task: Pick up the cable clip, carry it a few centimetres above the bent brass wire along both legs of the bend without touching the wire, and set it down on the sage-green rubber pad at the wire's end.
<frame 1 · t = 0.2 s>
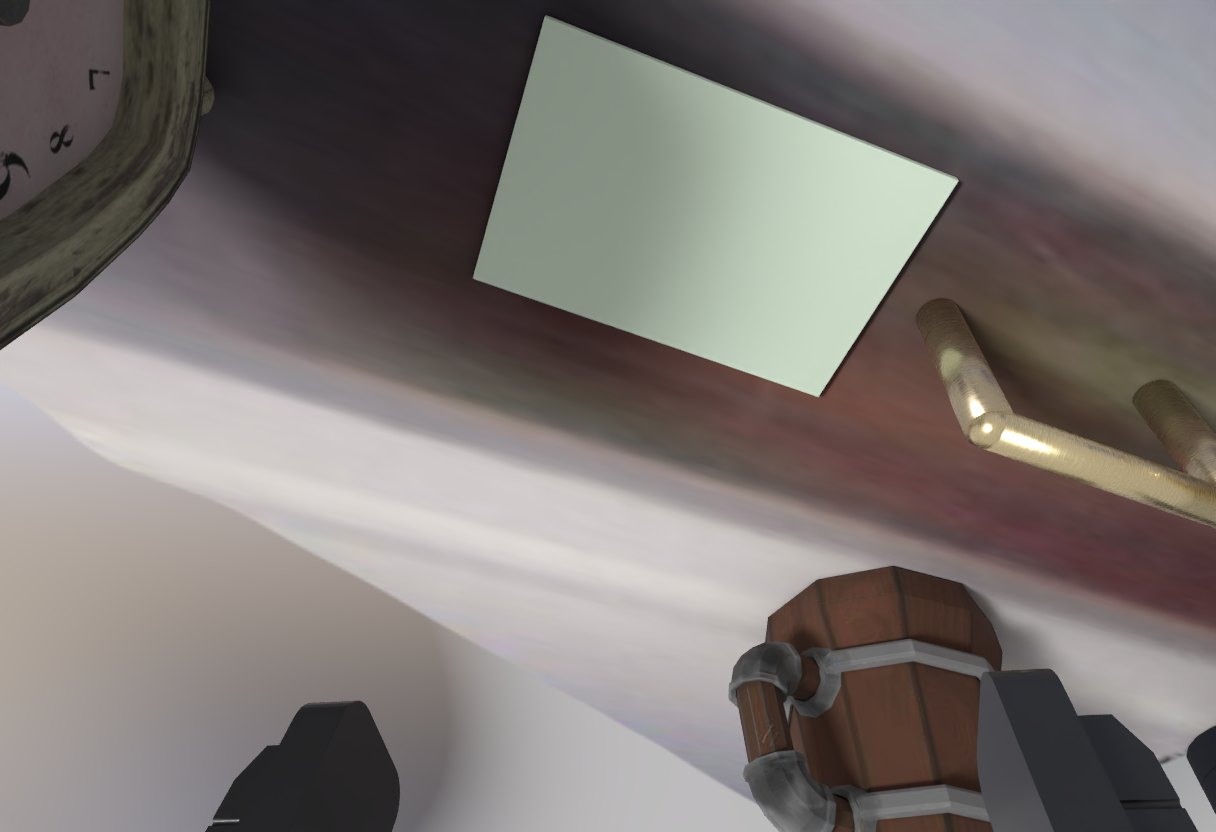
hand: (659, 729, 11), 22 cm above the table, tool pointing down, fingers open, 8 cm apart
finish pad: (700, 229, 30), on the table
wire track: (1159, 225, 29), on the table
mug: (843, 621, 43), on the table
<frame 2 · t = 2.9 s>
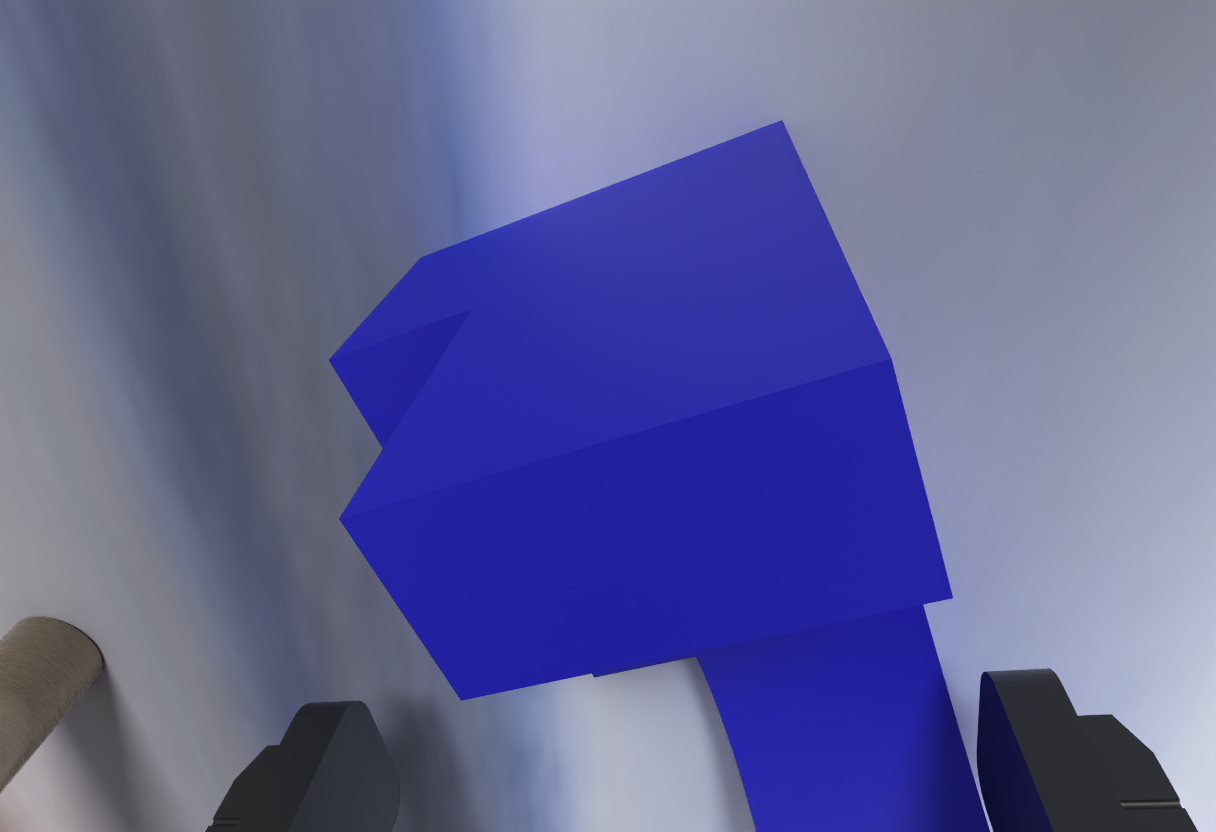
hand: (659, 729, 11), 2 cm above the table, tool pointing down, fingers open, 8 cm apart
cable clip: (744, 561, 12), on the table
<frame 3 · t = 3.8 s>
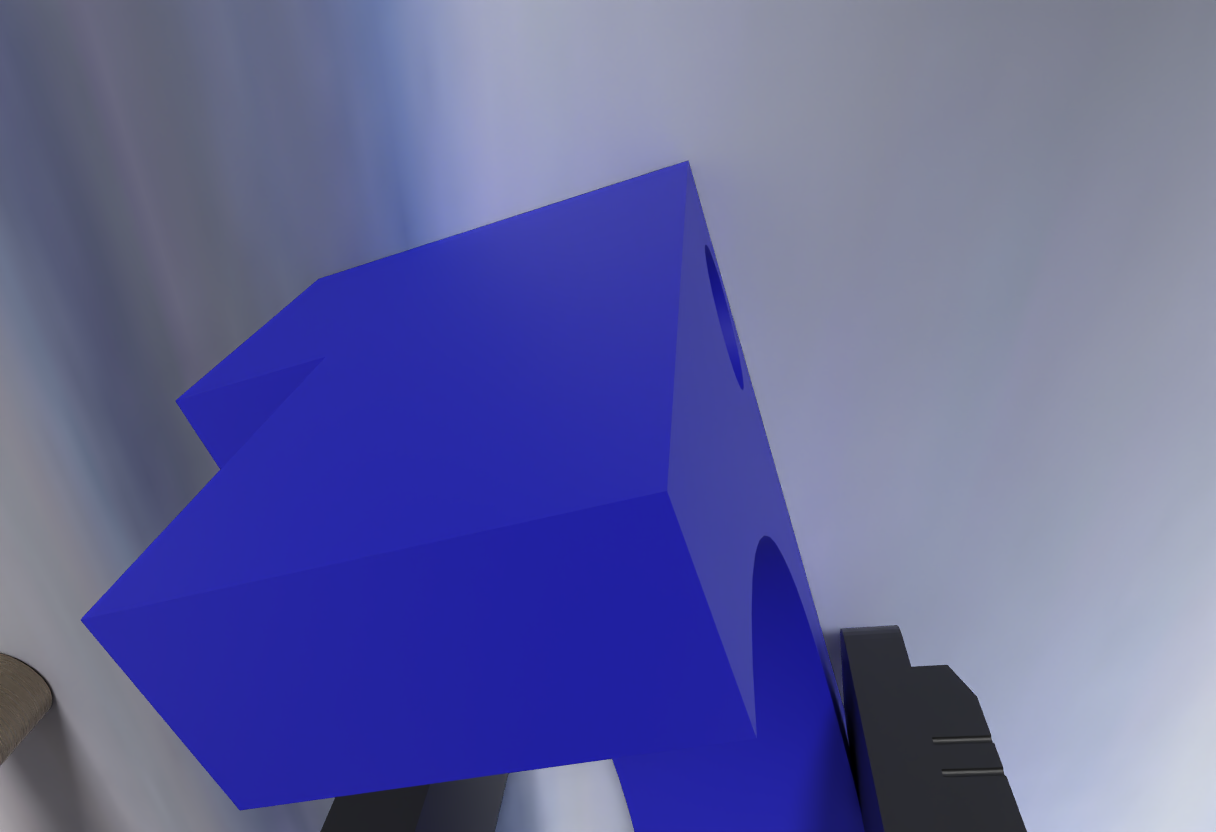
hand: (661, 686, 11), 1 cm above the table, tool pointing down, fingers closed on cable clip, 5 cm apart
cable clip: (653, 607, 12), on the table, touching gripper
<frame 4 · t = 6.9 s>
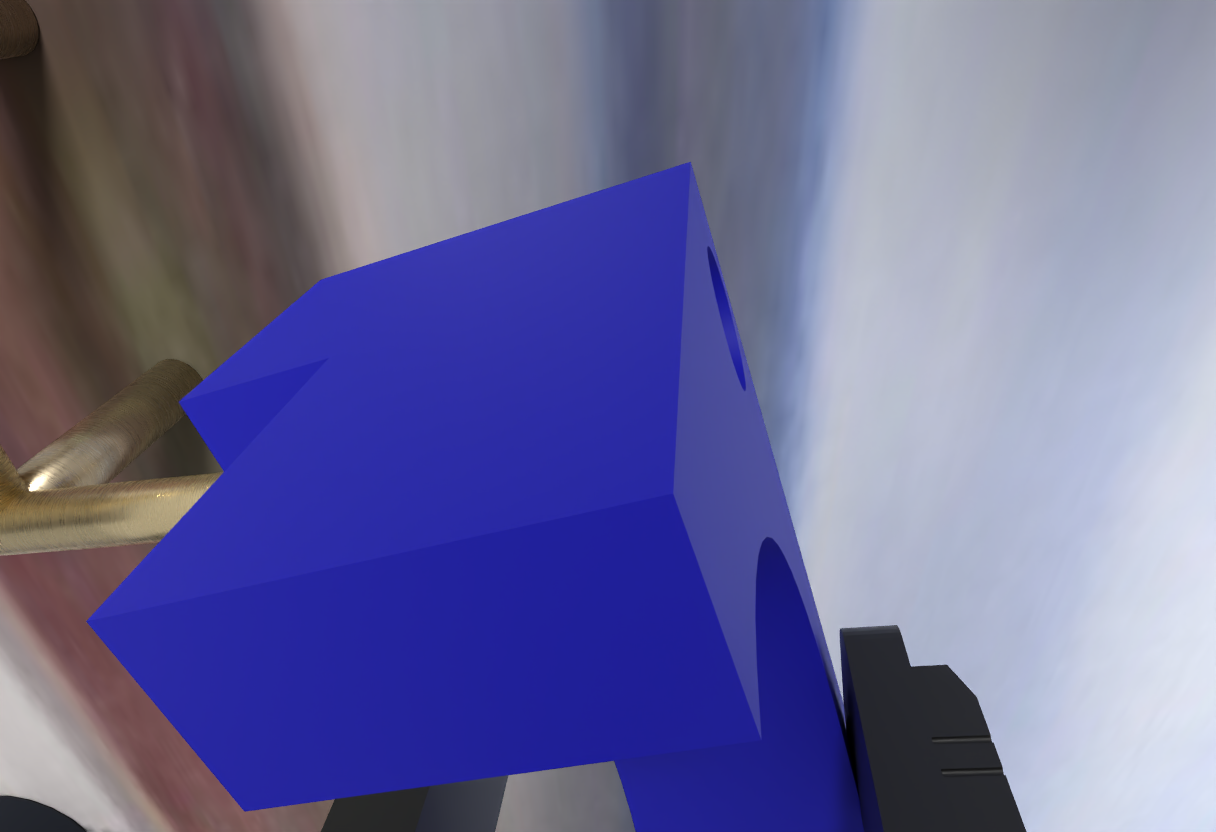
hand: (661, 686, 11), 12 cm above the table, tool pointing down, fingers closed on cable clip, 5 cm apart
cable clip: (654, 608, 12), point 11 cm above the table, touching gripper
wire track: (302, 189, 21), on the table
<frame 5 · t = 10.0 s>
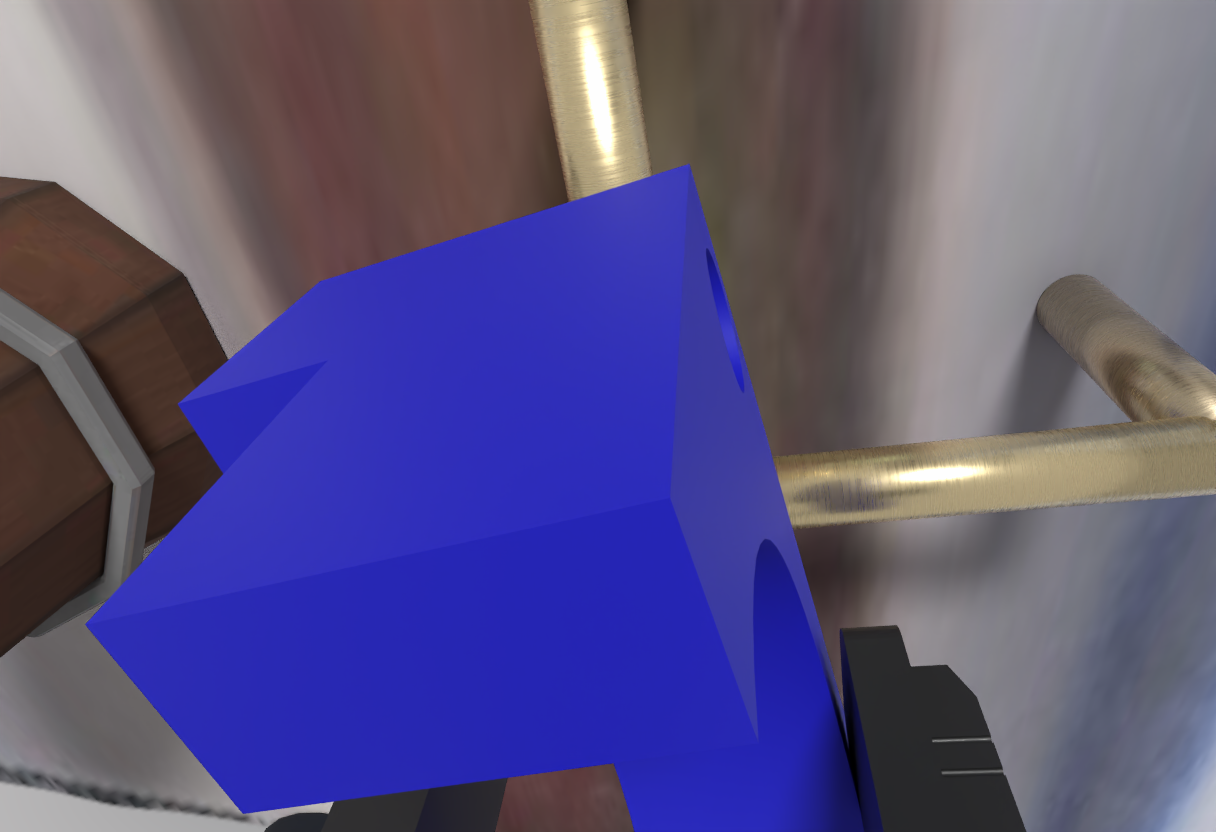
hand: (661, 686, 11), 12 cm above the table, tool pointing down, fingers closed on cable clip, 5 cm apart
cable clip: (653, 609, 12), point 11 cm above the table, touching gripper
wire track: (903, 125, 19), on the table
mug: (35, 299, 23), on the table
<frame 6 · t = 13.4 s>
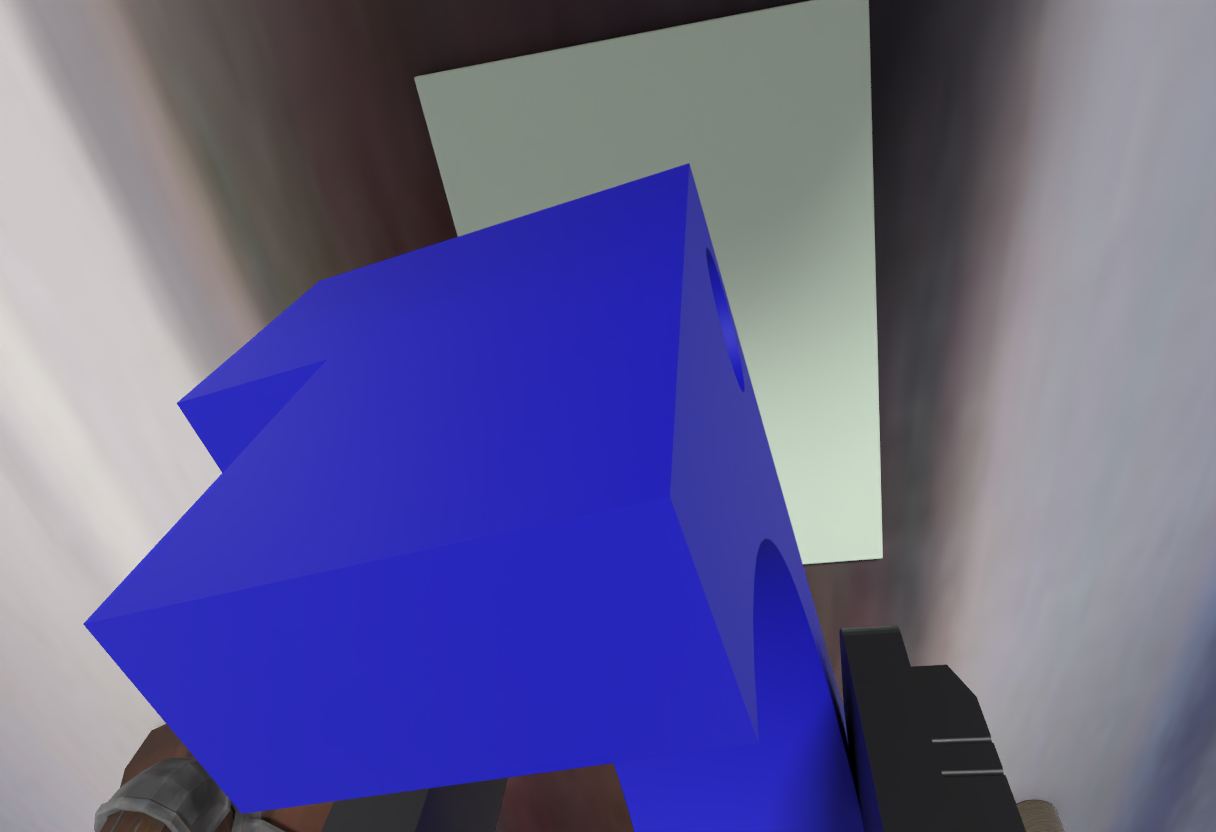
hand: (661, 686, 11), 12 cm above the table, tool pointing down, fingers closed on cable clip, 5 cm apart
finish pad: (678, 343, 21), on the table
cable clip: (653, 609, 12), point 11 cm above the table, touching gripper
wire track: (915, 723, 27), on the table
mug: (284, 761, 32), on the table
when the fingers open (2 cm above the table, at t = 16.3 s): cable clip stays where it is, resting on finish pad.
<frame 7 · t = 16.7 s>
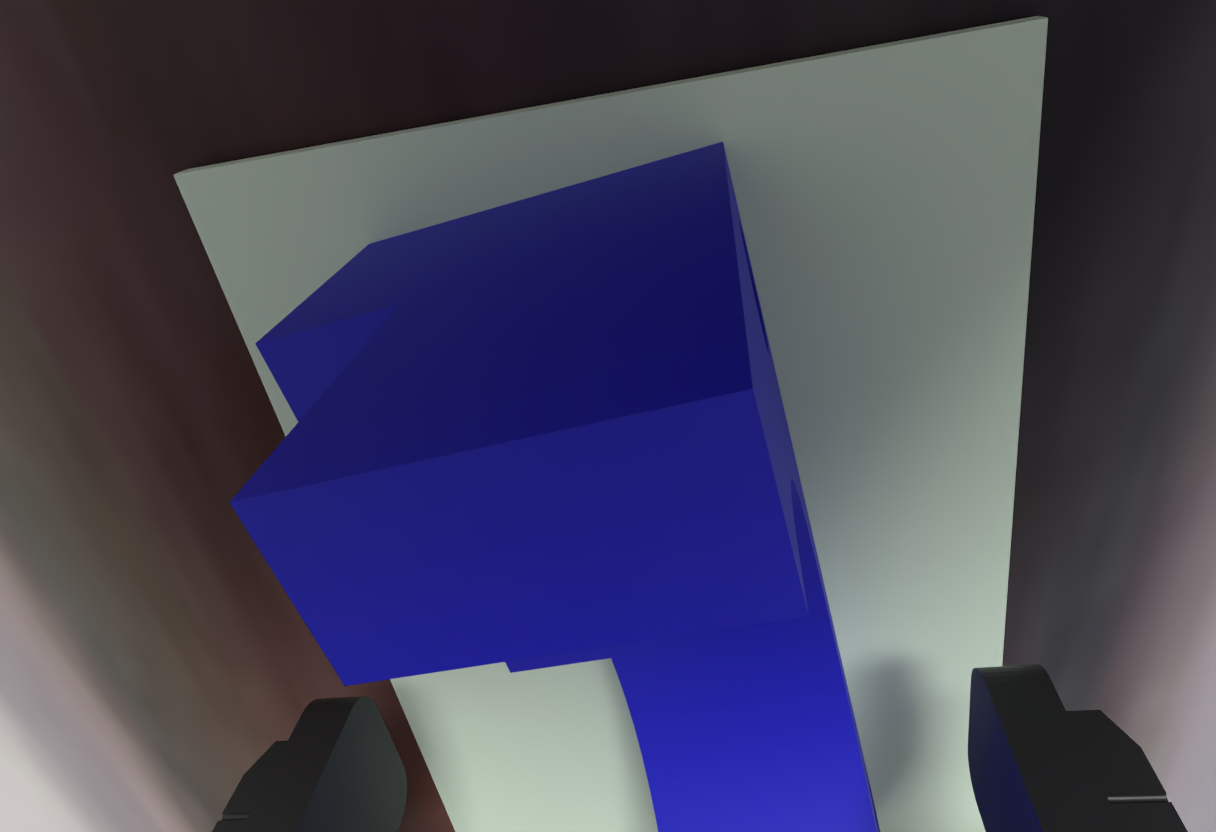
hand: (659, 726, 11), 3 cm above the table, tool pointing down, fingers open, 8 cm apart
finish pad: (666, 594, 13), on the table
cable clip: (667, 568, 12), resting on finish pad
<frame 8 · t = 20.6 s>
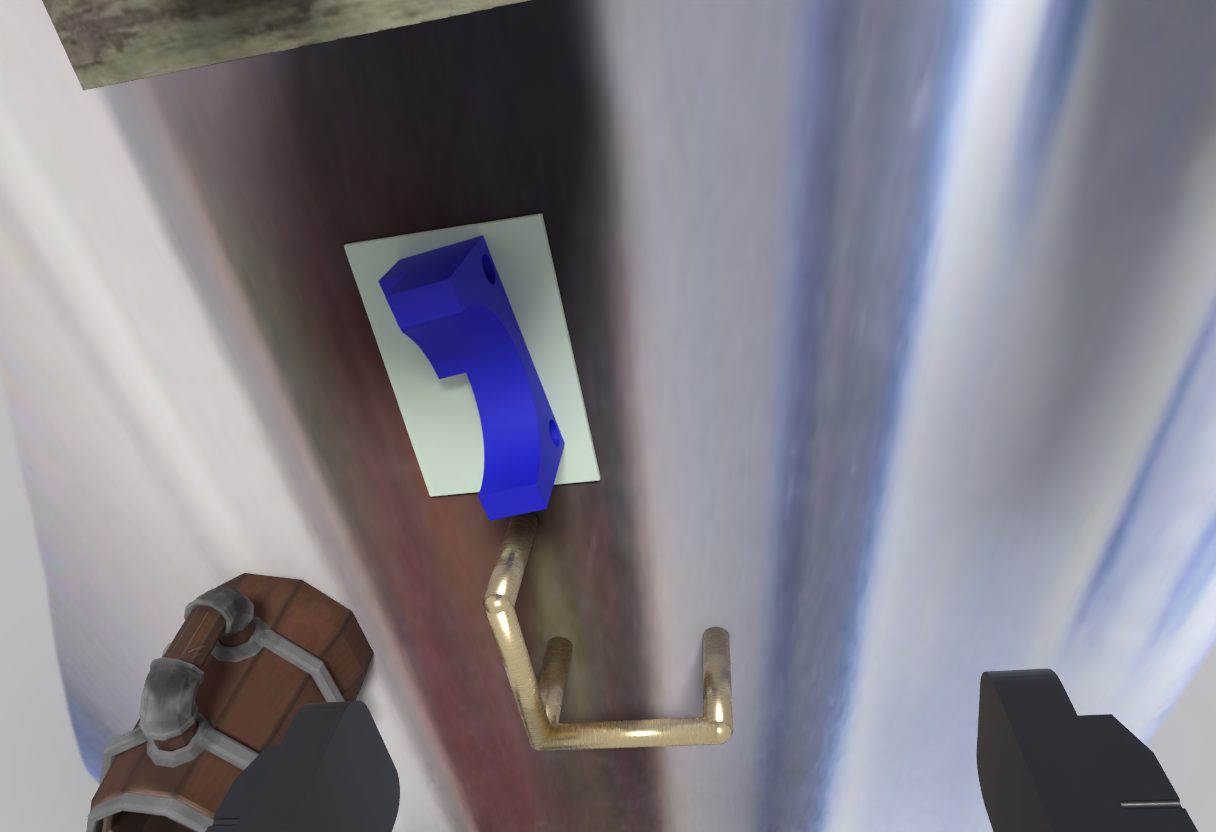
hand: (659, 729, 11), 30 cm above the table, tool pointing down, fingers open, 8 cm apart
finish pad: (481, 367, 42), on the table
cable clip: (487, 354, 42), resting on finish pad
wire track: (639, 579, 49), on the table
mug: (283, 614, 53), on the table
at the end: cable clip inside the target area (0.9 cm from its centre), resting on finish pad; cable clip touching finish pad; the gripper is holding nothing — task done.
